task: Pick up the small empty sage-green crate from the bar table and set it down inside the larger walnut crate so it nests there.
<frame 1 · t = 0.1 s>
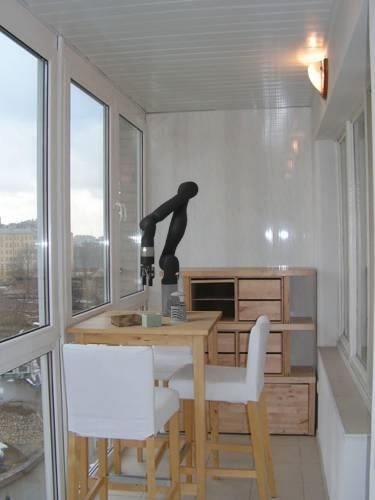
hand: (147, 285, 293), 17 cm above the table, tool pointing down, fingers open, 8 cm apart
french press: (177, 321, 278), on the table
big crate: (127, 324, 274), on the table
small crate: (152, 326, 267), on the table
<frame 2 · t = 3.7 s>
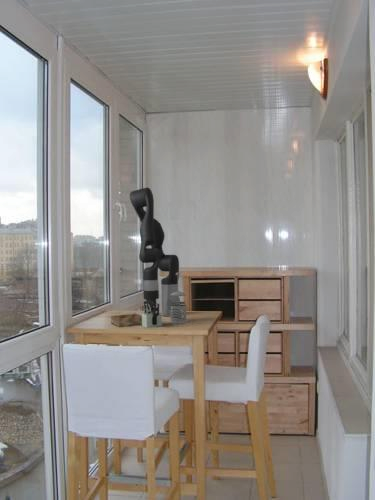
hand: (151, 323, 266), 1 cm above the table, tool pointing down, fingers closed on small crate, 6 cm apart
small crate: (152, 325, 266), on the table, touching gripper
everything else where it was.
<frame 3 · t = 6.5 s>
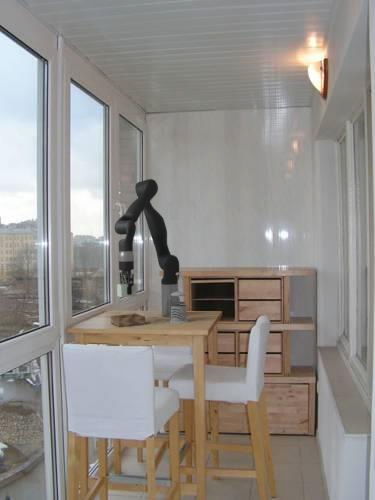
hand: (127, 293, 273), 15 cm above the table, tool pointing down, fingers closed on small crate, 6 cm apart
small crate: (127, 296, 273), point 14 cm above the table, touching gripper
everything else where it was.
when the fingers open (4 cm above the table, at t = 9.5 s): small crate drops 2 cm, resting on big crate.
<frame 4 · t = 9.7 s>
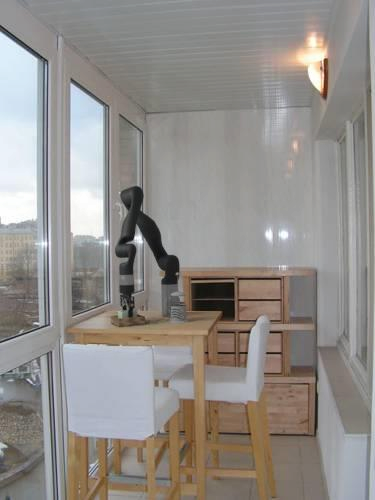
hand: (127, 316, 274), 4 cm above the table, tool pointing down, fingers open, 7 cm apart
small crate: (127, 322, 274), point 1 cm above the table, touching big crate
everything else where it was.
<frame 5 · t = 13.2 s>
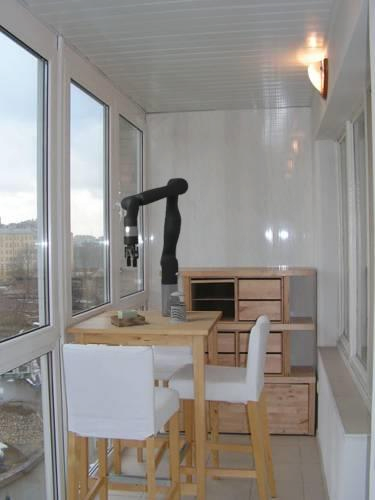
hand: (131, 266, 283), 28 cm above the table, tool pointing down, fingers open, 8 cm apart
nothing on the table moved.
at the end: small crate 0.1 cm off-centre on the big crate, point 0.6 cm above the big crate's base; small crate tilted 0°; the gripper is holding nothing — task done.
